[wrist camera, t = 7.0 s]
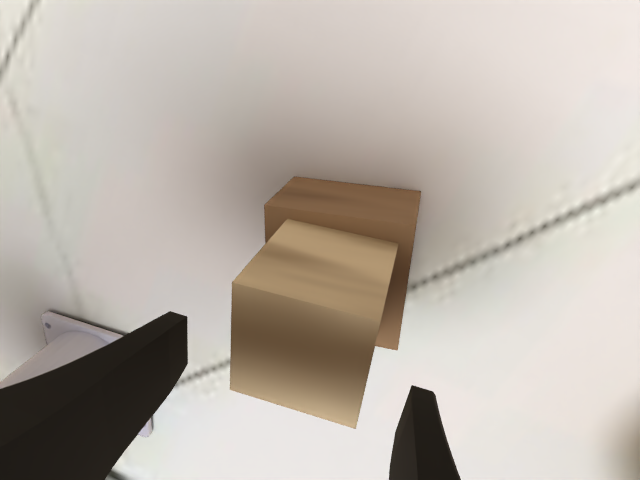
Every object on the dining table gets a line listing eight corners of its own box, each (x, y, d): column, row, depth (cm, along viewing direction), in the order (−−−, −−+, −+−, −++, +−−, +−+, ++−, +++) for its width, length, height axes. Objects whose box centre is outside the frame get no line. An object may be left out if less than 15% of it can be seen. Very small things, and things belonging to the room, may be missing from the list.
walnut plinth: (405, 299, 22) (397, 350, 18) (294, 280, 23) (268, 324, 20) (421, 189, 19) (416, 225, 15) (295, 175, 20) (264, 205, 17)
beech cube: (377, 334, 18) (355, 428, 14) (279, 308, 19) (229, 389, 15) (398, 243, 16) (380, 321, 12) (287, 218, 17) (232, 282, 12)
